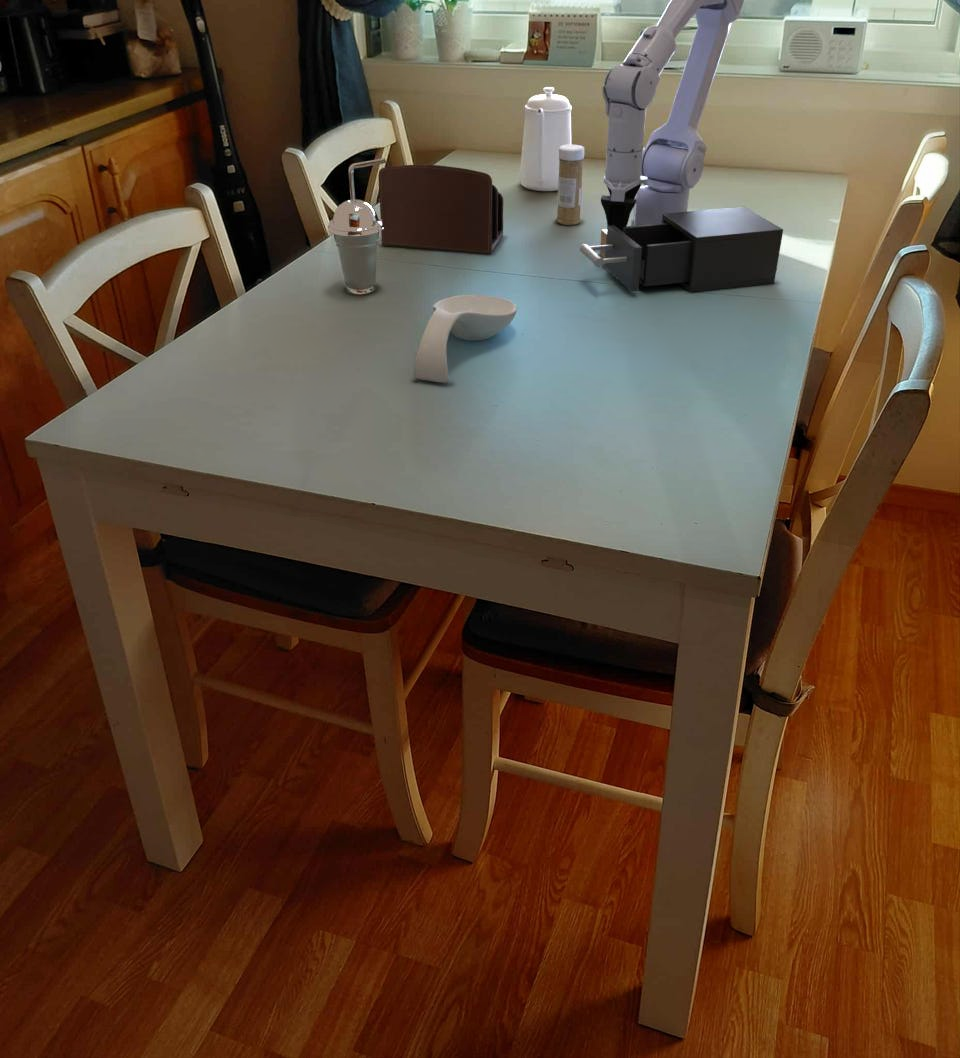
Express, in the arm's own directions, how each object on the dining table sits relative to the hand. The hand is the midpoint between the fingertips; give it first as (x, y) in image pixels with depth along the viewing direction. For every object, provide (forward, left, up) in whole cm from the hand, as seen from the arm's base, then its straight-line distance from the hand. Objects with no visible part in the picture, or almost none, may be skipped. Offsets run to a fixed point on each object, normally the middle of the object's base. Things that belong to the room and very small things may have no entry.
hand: (618, 233), depth 163 cm
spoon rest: (-22, -38, -4) cm, 45 cm away
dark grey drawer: (+4, -11, -3) cm, 12 cm away
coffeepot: (-13, +44, -4) cm, 46 cm away
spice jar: (-8, +20, -4) cm, 22 cm away
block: (0, 0, -4) cm, 4 cm away
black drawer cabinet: (+16, -6, -4) cm, 18 cm away
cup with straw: (-40, -17, -4) cm, 44 cm away
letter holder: (-30, +7, -4) cm, 31 cm away
